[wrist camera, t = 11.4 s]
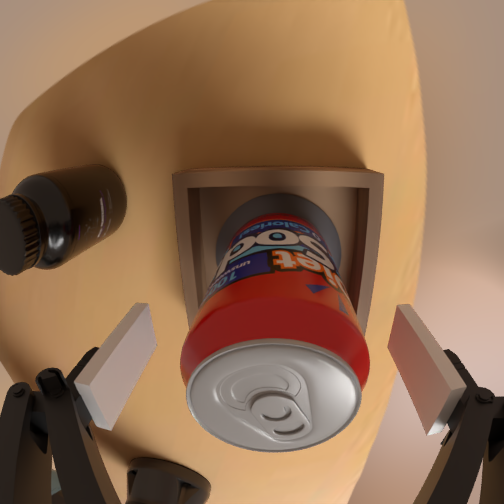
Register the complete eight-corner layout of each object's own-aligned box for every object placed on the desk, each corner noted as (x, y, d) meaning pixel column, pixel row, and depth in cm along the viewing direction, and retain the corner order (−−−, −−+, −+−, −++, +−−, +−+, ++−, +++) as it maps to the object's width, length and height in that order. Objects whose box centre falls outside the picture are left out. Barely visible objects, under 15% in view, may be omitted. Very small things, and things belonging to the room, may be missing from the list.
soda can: (257, 315, 26) (235, 471, 12) (210, 237, 24) (126, 366, 10) (342, 278, 24) (396, 428, 10) (301, 191, 22) (340, 282, 8)
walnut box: (202, 322, 28) (192, 348, 24) (188, 169, 23) (172, 173, 19) (352, 324, 26) (361, 350, 23) (367, 168, 22) (384, 173, 18)
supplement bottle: (142, 218, 25) (55, 274, 13) (89, 246, 26) (5, 304, 15) (110, 148, 23) (8, 162, 12) (60, 184, 24) (-35, 215, 13)
